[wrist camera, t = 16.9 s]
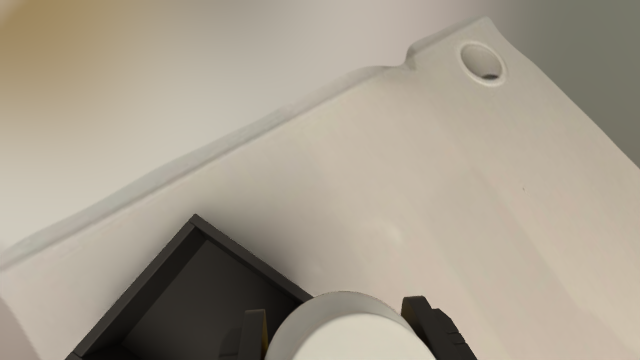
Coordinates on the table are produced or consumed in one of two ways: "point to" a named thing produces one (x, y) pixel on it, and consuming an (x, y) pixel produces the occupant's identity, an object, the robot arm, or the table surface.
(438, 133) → the table surface
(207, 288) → the basket
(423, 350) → the supplement bottle
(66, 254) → the table surface
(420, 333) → the robot arm
